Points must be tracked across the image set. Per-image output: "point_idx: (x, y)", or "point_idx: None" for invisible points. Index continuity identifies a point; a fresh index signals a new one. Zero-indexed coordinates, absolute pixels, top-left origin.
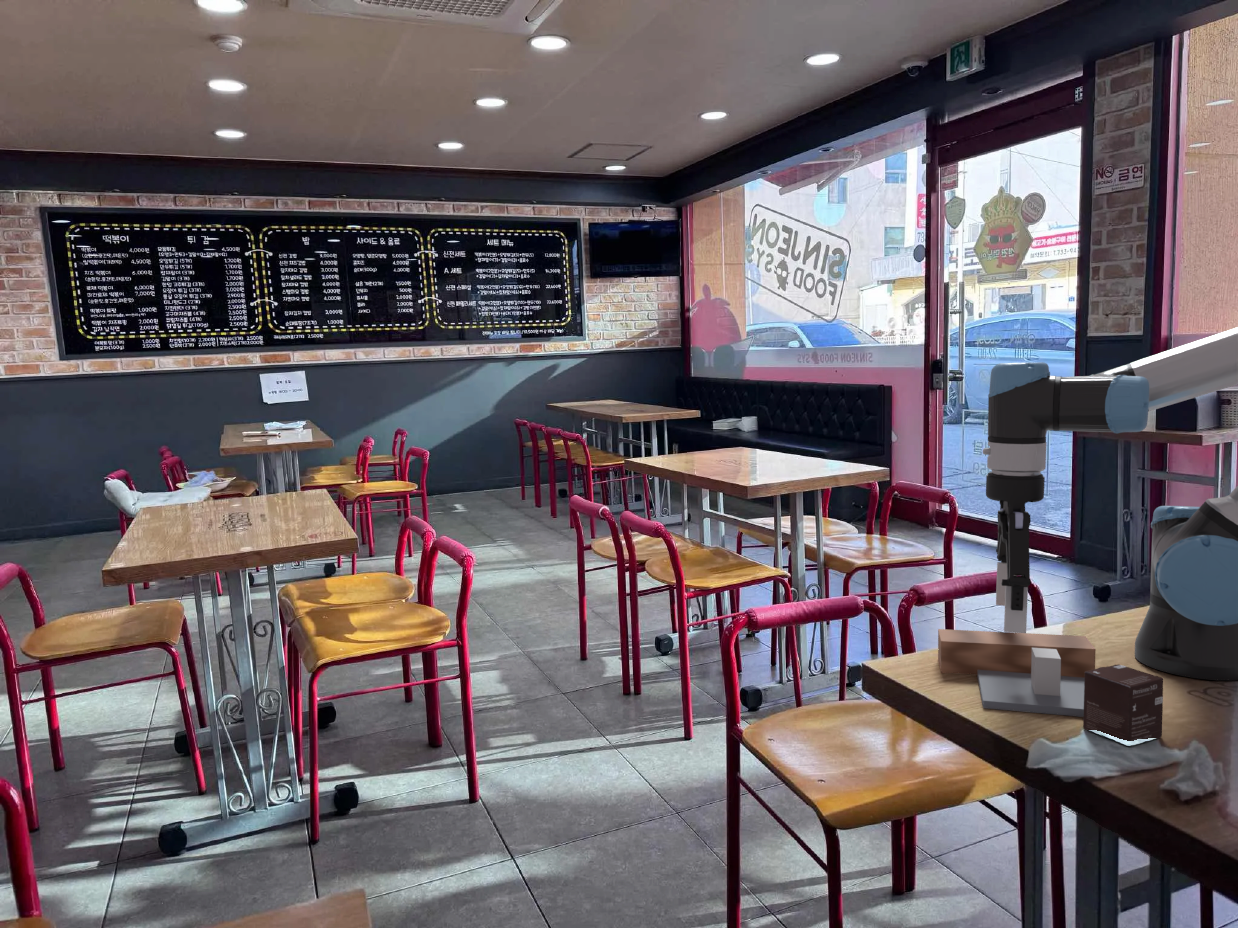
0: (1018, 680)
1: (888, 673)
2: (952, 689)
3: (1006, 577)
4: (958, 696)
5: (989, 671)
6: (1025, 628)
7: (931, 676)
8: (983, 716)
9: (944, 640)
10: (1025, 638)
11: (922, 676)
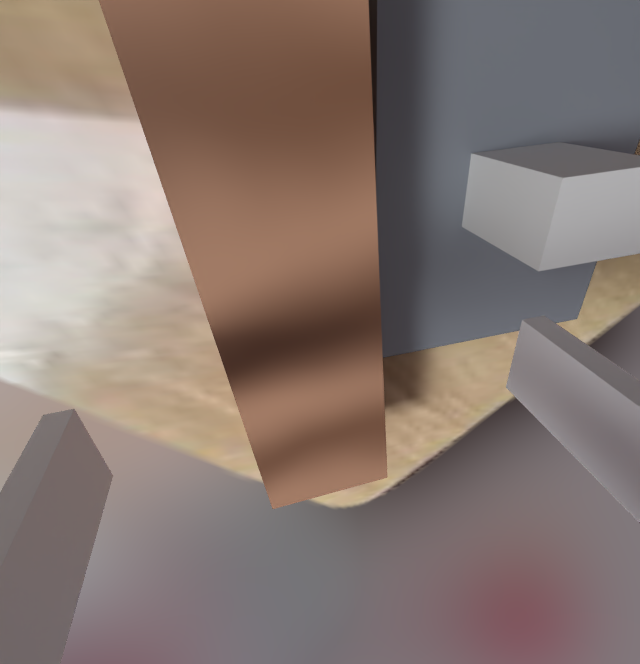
0: (441, 260)
1: (391, 477)
2: (462, 375)
3: (29, 627)
4: (501, 359)
5: (382, 332)
6: (558, 329)
7: (391, 421)
8: (604, 303)
9: (379, 473)
10: (284, 291)
11: (395, 433)
